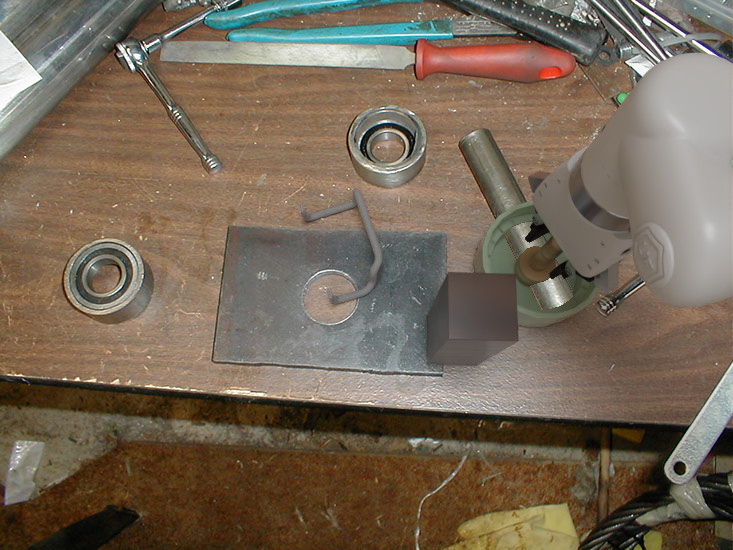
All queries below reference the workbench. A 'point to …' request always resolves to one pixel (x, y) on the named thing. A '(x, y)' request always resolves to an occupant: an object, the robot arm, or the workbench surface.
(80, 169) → the workbench surface
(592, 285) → the bowl
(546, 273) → the muddler
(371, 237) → the bracket
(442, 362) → the brown block
